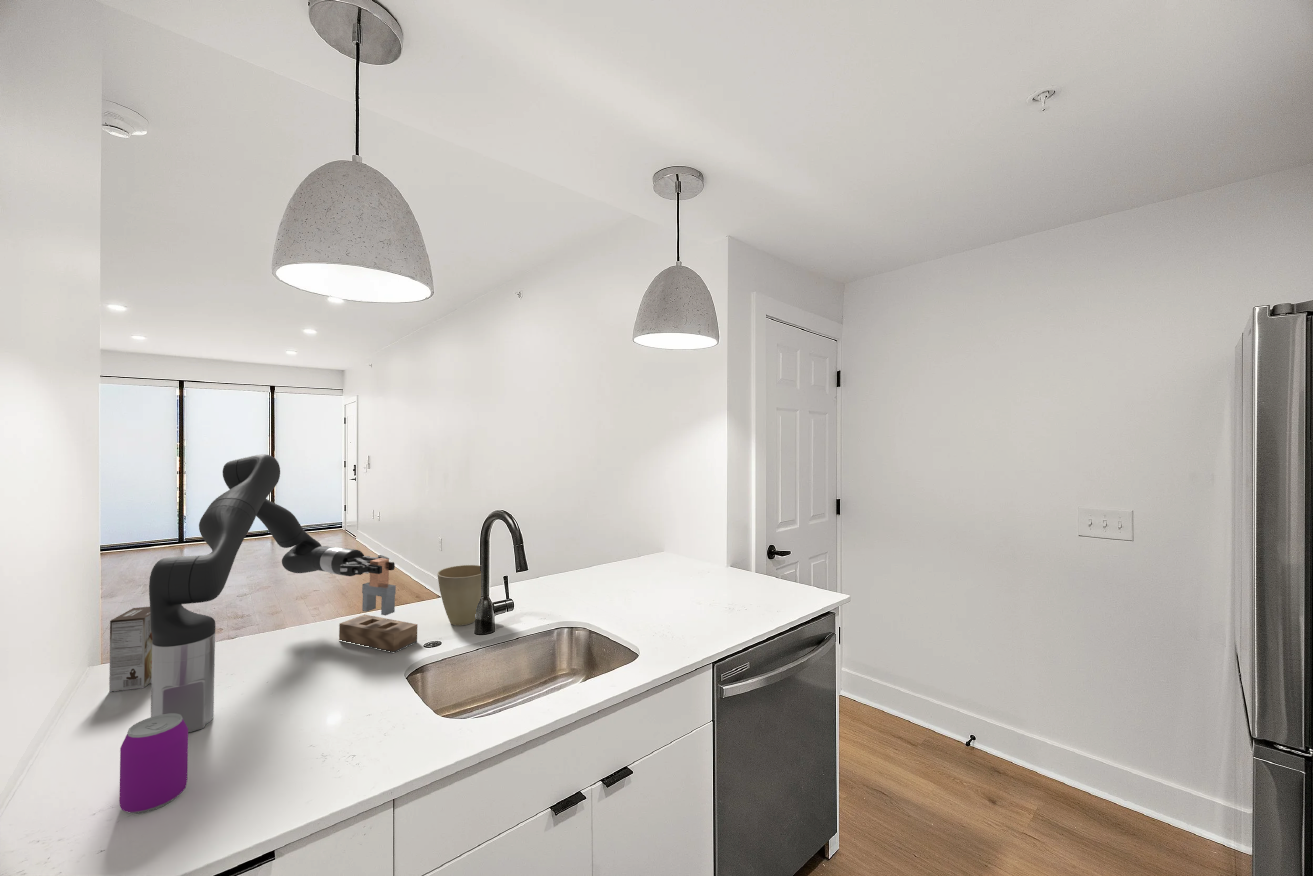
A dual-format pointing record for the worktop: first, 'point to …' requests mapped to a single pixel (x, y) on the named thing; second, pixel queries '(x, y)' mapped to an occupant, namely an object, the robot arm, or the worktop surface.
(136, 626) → the coffee box
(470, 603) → the plant pot
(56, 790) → the worktop surface
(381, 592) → the block on stand
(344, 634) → the slotted block
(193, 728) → the robot arm
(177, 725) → the beverage can
